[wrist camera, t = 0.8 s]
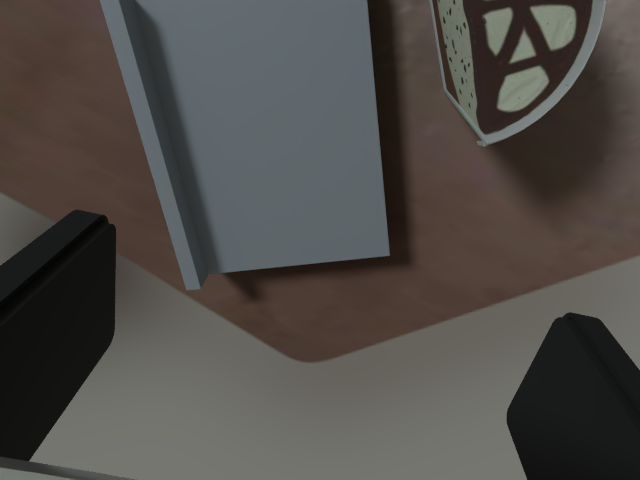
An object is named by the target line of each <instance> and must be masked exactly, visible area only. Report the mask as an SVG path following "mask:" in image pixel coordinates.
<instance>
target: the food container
mask: <svg viewBox="0 0 640 480" xmlns="http://www.w3.org/2000/svg"><path fill="white" fill-rule="evenodd" d="M429 3H430V9H431V15H432V21H433V27H434V33H435V39H436V45H437V52H438V58H439V64H440V70H441V76H442V82H443V88H444V92H445V94H446V95H447V96H448V98H449V99H450V100H451V101H452V103H453V104H454V105H455V106H456V108H457V109H458V110H459V111H460V113H461V114H462V115H463V117H464V118H465V119H466V120H467V122H468V123H469V124H470V125H471V127H472V128H473V129H474V131H475V132H476V133H477V134H478V136H479V137H480V138H481V139H482V140H480V141H477V144H478V145H480V146H487V145H490V144H493V143H496V142H499V141H502V140H504V139H506V138H508V137H510V136H512V135H514V134H516V133H518V132H520V131H522V130H523V129H525V128H526V127H528V126H529V125H531V124H532V123H534V122H535V121H537V120H538V119H540V118H541V117H542V116H543V115H544V114H545V113H547V112H548V111H549V110H550V109H551V108H552V107H553V106H554V105H556V104H557V103H558V101H559V100H560V99H561V98H562V97H563V96H564V95H565V93H566V92H567V91H568V90H569V89H570V88H571V86H572V85H573V83H574V82H575V81H576V79H577V78H578V76H579V75H580V73H581V72H582V70H583V69H584V67H585V65H586V63H587V61H588V59H589V57H590V55H591V53H592V51H593V49H594V46H595V43H596V41H597V38H598V35H599V32H600V29H601V26H602V21H603V16H604V11H605V6H606V0H429Z"/></svg>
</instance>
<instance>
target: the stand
mask: <svg viewBox="0 0 640 480" xmlns="http://www.w3.org/2000/svg"><path fill="white" fill-rule="evenodd" d="M100 2H101V5H102V9H103V12H104V15H105V19H106V22H107V26H108V29H109V32H110V36H111V39H112V42H113V46H114V49H115V52H116V56H117V59H118V62H119V66H120V69H121V72H122V76H123V79H124V82H125V86H126V89H127V92H128V96H129V99H130V102H131V106H132V109H133V112H134V116H135V119H136V123H137V126H138V129H139V133H140V136H141V139H142V143H143V146H144V149H145V153H146V156H147V159H148V163H149V166H150V169H151V173H152V176H153V179H154V183H155V186H156V189H157V193H158V196H159V199H160V203H161V206H162V209H163V213H164V216H165V220H166V223H167V226H168V230H169V233H170V236H171V240H172V243H173V246H174V250H175V253H176V256H177V260H178V263H179V266H180V270H181V273H182V276H183V280H184V283H185V286H186V290H194V289H201V287H202V285H203V283H204V282H205V280H206V278H207V276H208V274H216V273H226V272H236V271H245V270H255V269H265V268H275V267H284V266H294V265H304V264H314V263H323V262H333V261H343V260H352V259H362V258H372V257H382V256H390V252H389V241H388V230H387V219H386V207H385V196H384V185H383V174H382V162H381V151H380V140H379V129H378V117H377V106H376V95H375V84H374V72H373V61H372V50H371V38H370V27H369V16H368V5H367V0H100Z"/></svg>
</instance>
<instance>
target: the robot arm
mask: <svg viewBox="0 0 640 480" xmlns="http://www.w3.org/2000/svg"><path fill="white" fill-rule="evenodd" d="M115 269H116V228H115V226H114V225H113V224H109V223H108V219H107V217H106V216H105V215H100V214H96V213H91V212H86V211H81V210H74V211H72V212H71V213H69V214H68V215H67V216H65V217H64V218H63V219H61V220H60V221H59V222H58V223H56V224H55V225H54V226H52V227H51V228H50V229H48V230H47V231H46V232H44V233H43V234H42V235H40V236H39V237H38V238H36V239H35V240H34V241H32V242H31V243H30V244H28V245H27V246H26V247H25V248H23V249H22V250H21V251H19V252H18V253H17V254H15V255H14V256H13V257H11V258H10V259H9V260H7V261H6V262H5V263H3V264H2V265H1V266H0V480H135V479H129V478H124V477H118V476H112V475H107V474H102V473H96V472H90V471H84V470H78V469H72V468H66V467H60V466H53V465H48V464H42V463H36V462H29V460H30V459H31V457H32V456H33V454H34V453H35V452H36V450H37V449H38V447H39V446H40V444H41V443H42V442H43V440H44V439H45V437H46V436H47V434H48V433H49V431H50V430H51V429H52V427H53V426H54V424H55V423H56V422H57V420H58V419H59V417H60V416H61V414H62V413H63V411H64V410H65V409H66V407H67V406H68V404H69V403H70V401H71V400H72V399H73V397H74V396H75V394H76V393H77V392H78V390H79V389H80V387H81V386H82V384H83V383H84V381H85V380H86V379H87V377H88V376H89V374H90V373H91V372H92V370H93V369H94V367H95V366H96V364H97V363H98V361H99V360H100V359H101V357H102V356H103V354H104V353H105V352H106V350H107V349H108V347H109V345H110V343H111V341H112V339H113V336H114V329H115ZM507 425H508V428H509V431H510V433H511V436H512V439H513V442H514V444H515V447H516V450H517V452H518V455H519V458H520V461H521V464H522V466H523V469H524V472H525V474H526V477H527V480H640V370H639V369H638V368H637V366H636V365H635V364H634V362H633V361H632V360H631V359H630V357H629V356H628V355H627V353H625V351H624V350H623V348H622V347H621V346H620V344H619V343H618V342H617V341H616V340H615V338H614V337H613V335H612V334H611V333H610V332H609V330H608V329H607V328H606V326H605V325H604V324H603V323H602V321H601V320H599V319H598V318H594V317H590V316H585V315H580V314H575V313H571V312H570V313H567V314H565V315H564V316H563V317H562V318H561V317H559V318H557V319H555V321H554V322H553V323H552V326H551V327H550V329H549V331H548V333H547V335H546V337H545V339H544V341H543V343H542V344H541V347H540V348H539V350H538V352H537V354H536V356H535V358H534V360H533V362H532V364H531V366H530V367H529V370H528V371H527V373H526V375H525V377H524V379H523V381H522V383H521V385H520V387H519V389H518V390H517V392H516V394H515V396H514V398H513V400H512V402H511V404H510V406H509V408H508V411H507Z"/></svg>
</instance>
